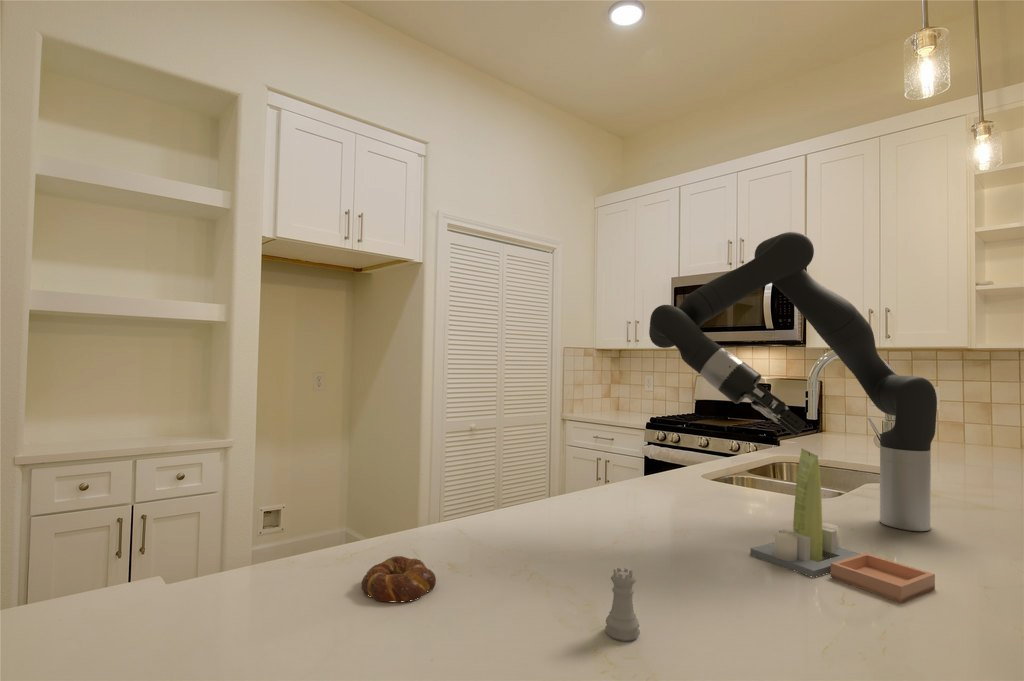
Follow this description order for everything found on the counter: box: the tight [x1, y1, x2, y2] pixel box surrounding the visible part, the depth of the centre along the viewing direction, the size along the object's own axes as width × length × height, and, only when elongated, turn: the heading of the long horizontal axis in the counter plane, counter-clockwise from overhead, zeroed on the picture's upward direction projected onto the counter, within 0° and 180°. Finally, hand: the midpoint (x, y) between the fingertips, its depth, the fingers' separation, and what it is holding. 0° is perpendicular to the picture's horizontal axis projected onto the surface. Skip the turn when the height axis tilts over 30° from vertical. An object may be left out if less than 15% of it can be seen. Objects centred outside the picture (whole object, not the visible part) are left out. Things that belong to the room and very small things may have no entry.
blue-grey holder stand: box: [749, 522, 861, 578], centre depth 101 cm, size 17×12×5 cm
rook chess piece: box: [604, 567, 641, 642], centre depth 72 cm, size 4×4×8 cm
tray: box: [830, 552, 936, 604], centre depth 90 cm, size 11×11×2 cm
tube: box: [792, 447, 823, 562], centre depth 101 cm, size 6×5×20 cm
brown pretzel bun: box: [360, 555, 437, 603], centre depth 84 cm, size 12×11×4 cm
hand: (801, 430), depth 104 cm, fingers open, 8 cm apart
